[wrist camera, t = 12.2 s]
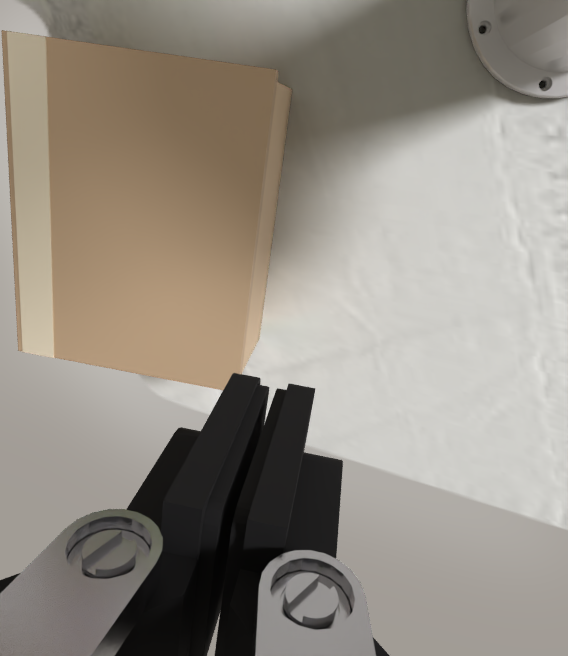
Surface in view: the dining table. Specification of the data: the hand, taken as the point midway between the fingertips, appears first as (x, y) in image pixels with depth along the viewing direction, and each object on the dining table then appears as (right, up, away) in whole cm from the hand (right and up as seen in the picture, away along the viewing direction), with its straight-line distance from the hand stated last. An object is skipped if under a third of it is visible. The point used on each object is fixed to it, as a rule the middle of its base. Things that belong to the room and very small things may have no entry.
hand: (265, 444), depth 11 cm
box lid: (-10, +9, +25) cm, 28 cm away
